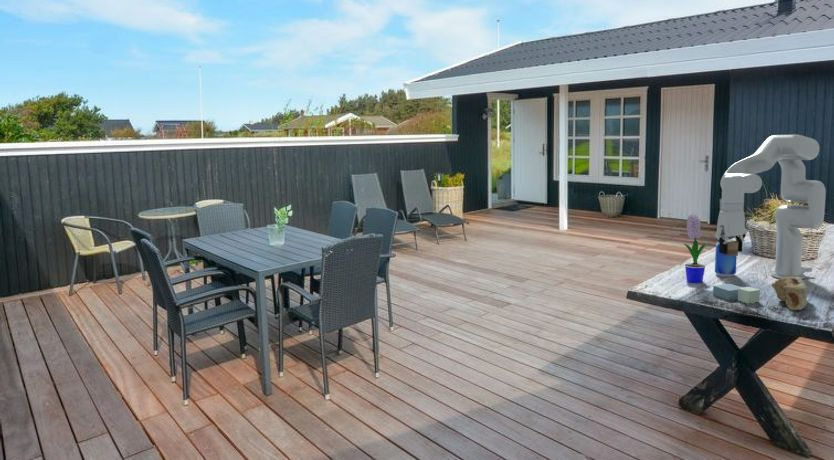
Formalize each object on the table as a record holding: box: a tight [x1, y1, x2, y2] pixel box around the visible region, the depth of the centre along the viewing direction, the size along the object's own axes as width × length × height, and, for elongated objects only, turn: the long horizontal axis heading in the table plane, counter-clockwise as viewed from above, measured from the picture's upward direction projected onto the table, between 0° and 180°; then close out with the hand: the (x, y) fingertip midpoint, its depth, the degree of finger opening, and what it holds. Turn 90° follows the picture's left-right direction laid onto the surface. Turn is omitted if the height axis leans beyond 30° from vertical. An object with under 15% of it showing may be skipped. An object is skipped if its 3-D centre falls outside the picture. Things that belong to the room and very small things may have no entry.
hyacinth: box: [683, 213, 711, 284], centre depth 245 cm, size 9×10×30 cm
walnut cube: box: [723, 240, 739, 257], centre depth 221 cm, size 5×5×5 cm
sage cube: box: [737, 286, 761, 305], centre depth 216 cm, size 5×5×5 cm
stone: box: [771, 277, 809, 311], centre depth 208 cm, size 17×12×10 cm
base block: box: [712, 283, 744, 301], centre depth 224 cm, size 8×8×4 cm
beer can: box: [714, 238, 738, 278], centre depth 254 cm, size 8×8×16 cm
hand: (730, 252), depth 221 cm, fingers closed on walnut cube, 7 cm apart
